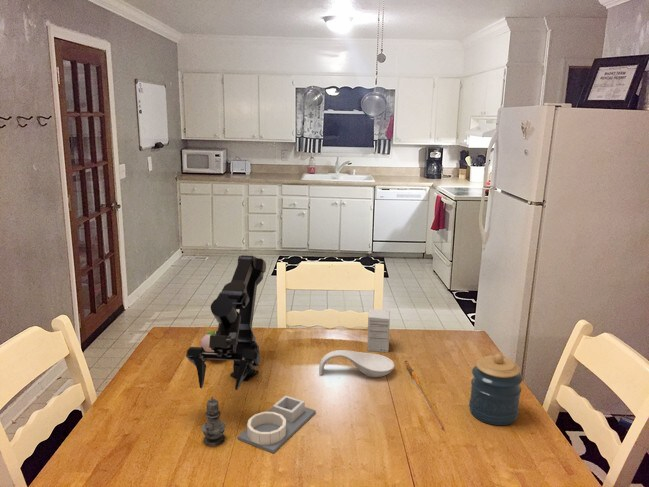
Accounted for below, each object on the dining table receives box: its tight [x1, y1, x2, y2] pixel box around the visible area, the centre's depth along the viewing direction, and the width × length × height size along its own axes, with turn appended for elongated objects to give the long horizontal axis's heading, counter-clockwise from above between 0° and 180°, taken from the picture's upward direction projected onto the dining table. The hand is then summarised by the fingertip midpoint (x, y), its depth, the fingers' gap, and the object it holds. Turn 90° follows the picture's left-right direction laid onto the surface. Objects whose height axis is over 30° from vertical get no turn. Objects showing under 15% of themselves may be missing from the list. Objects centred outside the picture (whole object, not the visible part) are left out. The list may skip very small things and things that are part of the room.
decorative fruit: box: [200, 330, 216, 352], centre depth 173 cm, size 9×8×10 cm
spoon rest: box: [318, 349, 395, 378], centre depth 165 cm, size 24×12×7 cm, turn 92°
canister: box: [468, 353, 524, 426], centre depth 143 cm, size 13×13×18 cm
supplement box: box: [366, 309, 391, 353], centre depth 182 cm, size 7×7×13 cm
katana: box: [404, 360, 444, 429], centre depth 153 cm, size 1×35×3 cm, turn 7°
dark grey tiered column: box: [201, 396, 227, 447], centre depth 131 cm, size 6×6×12 cm
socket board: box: [237, 395, 317, 454], centre depth 138 cm, size 20×11×4 cm, turn 150°
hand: (218, 389), depth 134 cm, fingers open, 9 cm apart
